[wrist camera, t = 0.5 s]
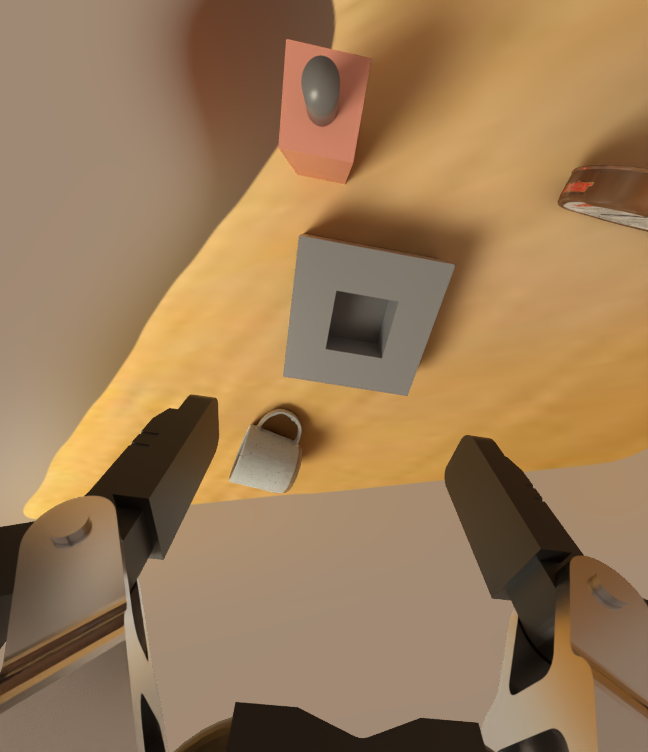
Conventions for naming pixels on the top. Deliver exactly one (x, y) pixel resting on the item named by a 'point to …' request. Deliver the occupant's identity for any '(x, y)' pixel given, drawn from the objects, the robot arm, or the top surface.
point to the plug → (321, 109)
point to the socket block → (361, 314)
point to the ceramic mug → (268, 457)
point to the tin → (609, 194)
